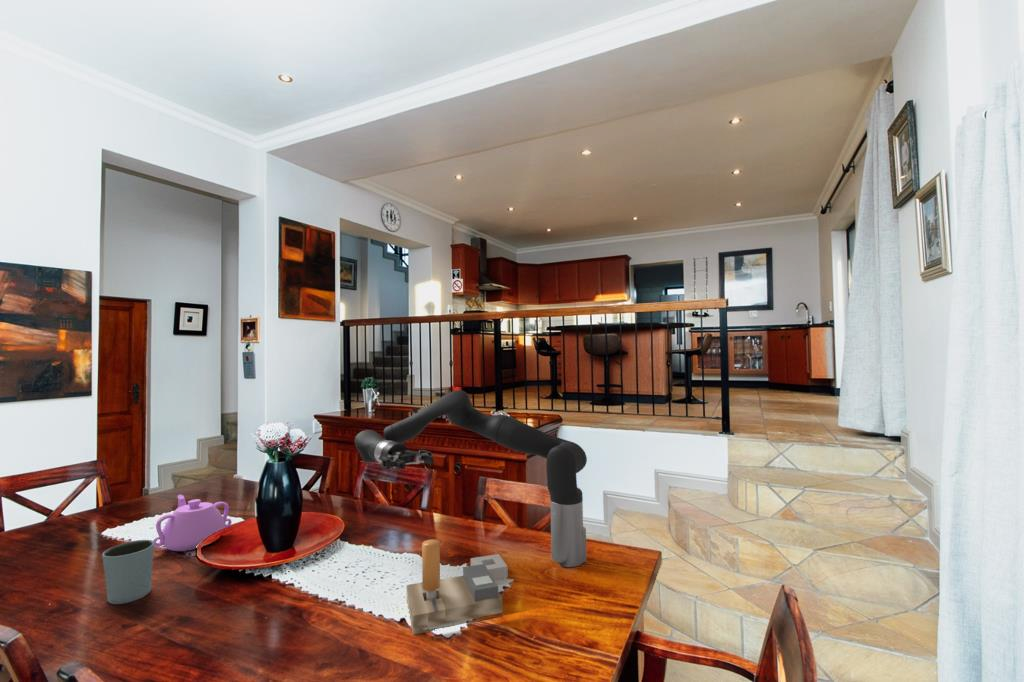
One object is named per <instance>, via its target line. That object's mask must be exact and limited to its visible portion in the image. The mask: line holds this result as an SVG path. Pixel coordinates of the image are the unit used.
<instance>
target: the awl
mask: <svg viewBox="0 0 1024 682" xmlns="http://www.w3.org/2000/svg"><path fill="white" fill-rule="evenodd" d="M440 543H441V542H440V540H438V539H426V540H424V541H423V542H422V543H421V557H422V558H421V562H422V563H421V565H422V568H421V569H422V570H421V571H422V572H421V574H422V577H421V578H422V579H421V581H422V582H421V583H422V588H423V589H424V590H426V594H427V601H428V600H431V599H436V589H438V588H439V587H440V579H441V565H440V564H441V563H440V562H441V559H440V557H441V556H440V555H441V549H440V548H441V547H440Z"/></svg>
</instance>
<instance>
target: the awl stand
mask: <svg viewBox="0 0 1024 682" xmlns="http://www.w3.org/2000/svg"><path fill="white" fill-rule="evenodd" d="M481 564H485V566H486V567H487V569H488V571H489V572H490V574H491V576H492V577H493V579H494V580H495V581H498V580H506V579H508V575H509V574H508V565H507V564H506V562H505V561H504V559H503V558H502V557H501V555H500V554H499V553H497V554H495V553H494V554H490V555H484V556H477V557H472V558H470V566H475V565H481Z"/></svg>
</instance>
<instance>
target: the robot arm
mask: <svg viewBox="0 0 1024 682" xmlns="http://www.w3.org/2000/svg"><path fill="white" fill-rule="evenodd" d="M442 416H446V417H447V419H448V421H449V422H450V423H451V424H453V425H454V426H457V427H459V428H462V429H465V430H468V431H471V432H473V433H476V434H478V435H480V436H482V437H484V438H486V439H489V440H490V441H492V442H494V443H496V444H498V445H500V446H501V447H502V446H503V447H504V448H506V449H509V450H512V451H513V452H517V453H523V454H528V455H535V456H539V457H542V458H545V459H546V463H545V467H546V483H547V490H548V493H549V496H550V498H549V499H550V546H551V547H550V548H551V549H550V556H551V559H552V561H554V562H555V563H558V564H559V566H561V567H563V568H573V567H574V568H575V567H578V566H581V565H582V564H583V563H587V528H586V527H585V526H584V509H583V508H584V506H583V504H584V503H583V502H584V501H583V500H584V498H583V491H582V489H581V488H579V487H578V482H577V473H580V472H581V471H582V470H584V468H585V467H586V465H587V461H588V457H587V455H586V451H585V450H584V448H582V447H581V446H580V445H579V444H578V443H576V442H573V441H570V440H567V439H564V438H560V437H557V436H554V435H551V434H549V433H546V432H545V431H542V430H540V429H538V428H536V427H533V426H532V425H529V424H527V423H525V422H523V421H520V420H519V419H516V418H514V417H512V416H510V415H507V414H496V415H495V414H494V415H493V414H492V415H488V414H486V413H484V412H483V411H480V410H478V409H476V408H475V407H474V406H473V404H472V401H471V399H470V396H469V395H468V393H467V392H466V391H464V390H462V389H456V390H453V391H450V392H448V393H446V394H445V395H443V396H441V397H440V398H438V399H436V400H435V401H433V402H432V403H430V404H428V405H427V406H425V407H423V408H422V409H421V410H419V411H417V412H416V413H414V414H412V415H410V416H408V417H406V418H404V419H402V420H400V421H397V422H394V423H393V424H390V425H388V426H386V427H385V428H384V429H383V436H384V437H383V436H382V435H381V434H379V433H378V432H376V431H375V430H372V429H364V430H362V431H360V432H359V433H357V434H356V435H355V438H354V445H355V447H356V449H357V451H358V453H359V454H360V458H361V459H362V461H364V462H365V463H369V464H372V463H375V462H378V466H380V467H381V468H383V469H386V470H389V469H392V470H402V471H404V470H406V465H419V464H420V463H423V464H426V465H433V464H434V456H433V452H431V451H428V450H425V449H418V451H417V450H411V449H409V447H408V446H407V445H406V444H404V443H406V442H409V441H410V440H412V439H414V438H416V437H418V435H420V434H421V433H422V432H423V430H424V429H425V428H426V427H428V425H430V423H432V422H433V421H434V420H436V419H438V418H440V417H442Z"/></svg>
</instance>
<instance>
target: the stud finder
mask: <svg viewBox="0 0 1024 682" xmlns="http://www.w3.org/2000/svg"><path fill="white" fill-rule="evenodd" d="M462 576H463V578H464V580H465V582H466V584H467V587H468V589H469V591H470V593H471V595H472V597H473V599H474V601H481V600H486V599H492V598H497V597H498V592H499V585H498V584H497V582H496V580H494V579H493V577H492V576H491V574H490V572H489V571H488V569H487V567H486V566H485V564H481V565H475V566H471V565H470V566H464V567H462Z"/></svg>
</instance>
